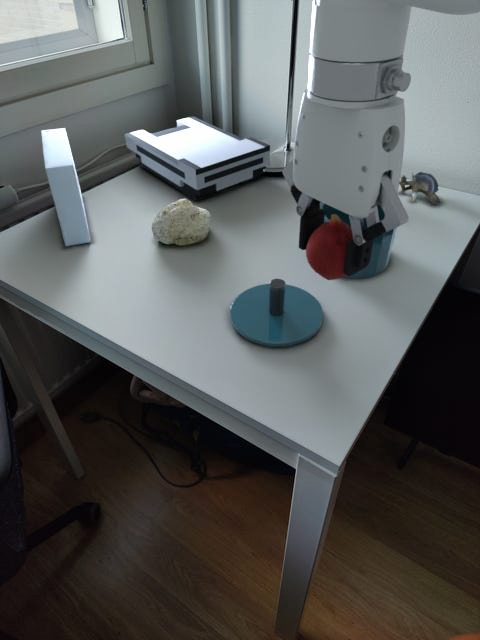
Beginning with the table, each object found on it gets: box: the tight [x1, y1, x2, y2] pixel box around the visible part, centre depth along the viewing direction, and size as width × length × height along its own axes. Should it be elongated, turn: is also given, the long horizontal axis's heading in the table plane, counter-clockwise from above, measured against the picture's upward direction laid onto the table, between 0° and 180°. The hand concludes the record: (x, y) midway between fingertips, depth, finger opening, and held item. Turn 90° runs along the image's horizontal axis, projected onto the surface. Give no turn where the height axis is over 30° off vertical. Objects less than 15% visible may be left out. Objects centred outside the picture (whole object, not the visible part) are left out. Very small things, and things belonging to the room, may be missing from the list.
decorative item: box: [151, 197, 212, 246], centre depth 90 cm, size 12×9×10 cm
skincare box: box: [40, 127, 92, 247], centre depth 93 cm, size 21×5×16 cm, turn 20°
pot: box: [320, 203, 398, 279], centre depth 83 cm, size 14×14×10 cm
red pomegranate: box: [305, 214, 353, 281], centre depth 50 cm, size 6×6×8 cm
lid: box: [229, 278, 324, 347], centre depth 71 cm, size 15×15×7 cm
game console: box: [124, 116, 271, 202], centre depth 114 cm, size 21×32×8 cm, turn 38°
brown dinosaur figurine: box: [399, 169, 441, 206], centre depth 101 cm, size 8×7×9 cm
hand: (332, 256), depth 51 cm, fingers closed on red pomegranate, 6 cm apart
